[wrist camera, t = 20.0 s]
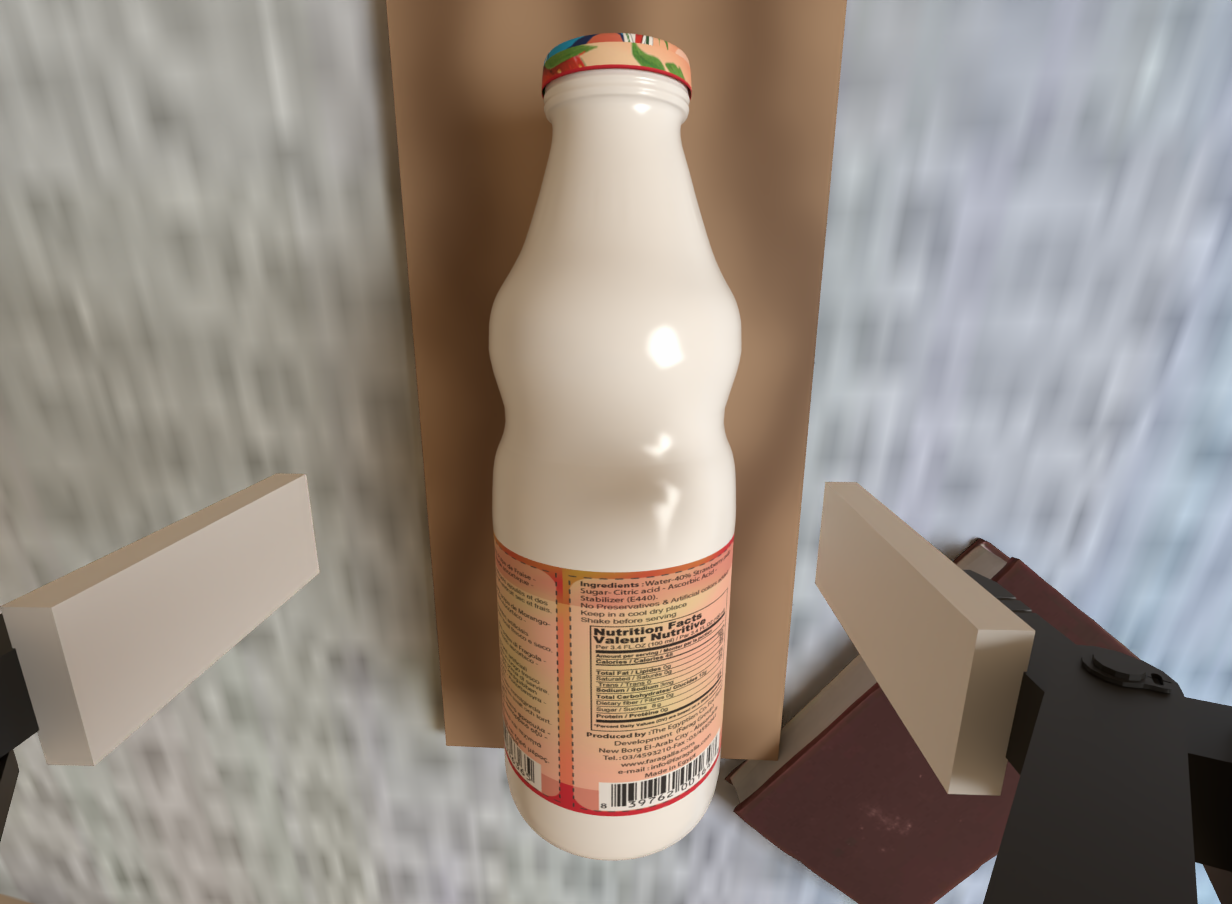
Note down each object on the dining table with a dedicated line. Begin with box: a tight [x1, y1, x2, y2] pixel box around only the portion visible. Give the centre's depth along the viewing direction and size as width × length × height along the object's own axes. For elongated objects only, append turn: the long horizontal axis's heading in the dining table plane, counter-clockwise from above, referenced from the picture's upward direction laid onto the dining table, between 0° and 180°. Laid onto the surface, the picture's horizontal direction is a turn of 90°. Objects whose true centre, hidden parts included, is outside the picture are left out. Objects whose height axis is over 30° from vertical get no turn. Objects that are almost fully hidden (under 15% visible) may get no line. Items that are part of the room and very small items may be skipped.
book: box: [725, 538, 1140, 904], centre depth 30 cm, size 12×19×3 cm, turn 142°
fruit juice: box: [489, 33, 741, 860], centre depth 22 cm, size 9×9×28 cm
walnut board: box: [386, 0, 847, 761], centre depth 27 cm, size 18×36×1 cm, turn 0°
